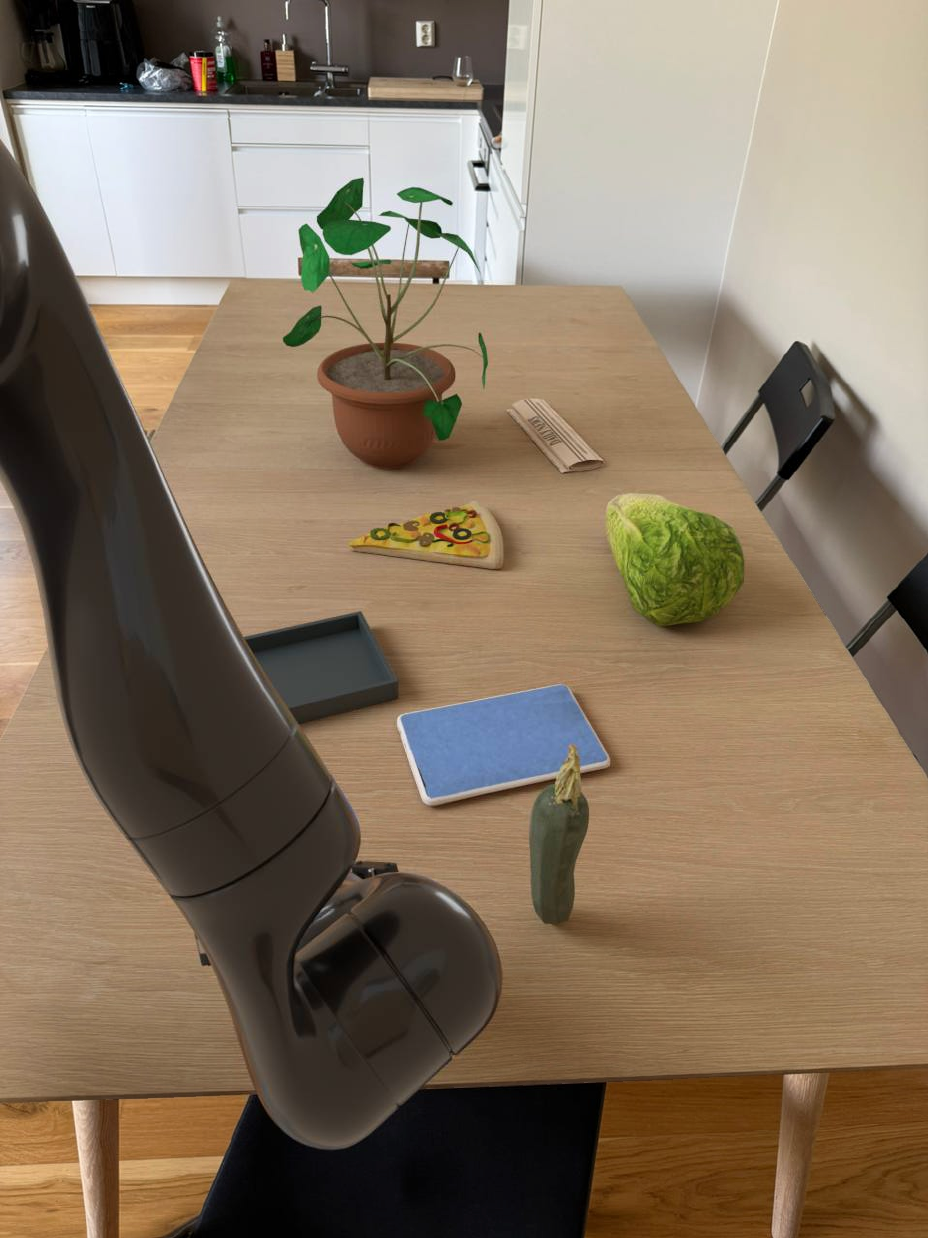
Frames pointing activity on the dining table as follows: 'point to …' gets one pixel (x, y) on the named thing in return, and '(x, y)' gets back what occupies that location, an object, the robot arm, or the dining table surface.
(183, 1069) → the dining table surface
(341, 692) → the serving tray
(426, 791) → the tablet
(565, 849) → the vegetable
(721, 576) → the lettuce
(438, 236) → the potted plant
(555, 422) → the newspaper
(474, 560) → the pizza slice
